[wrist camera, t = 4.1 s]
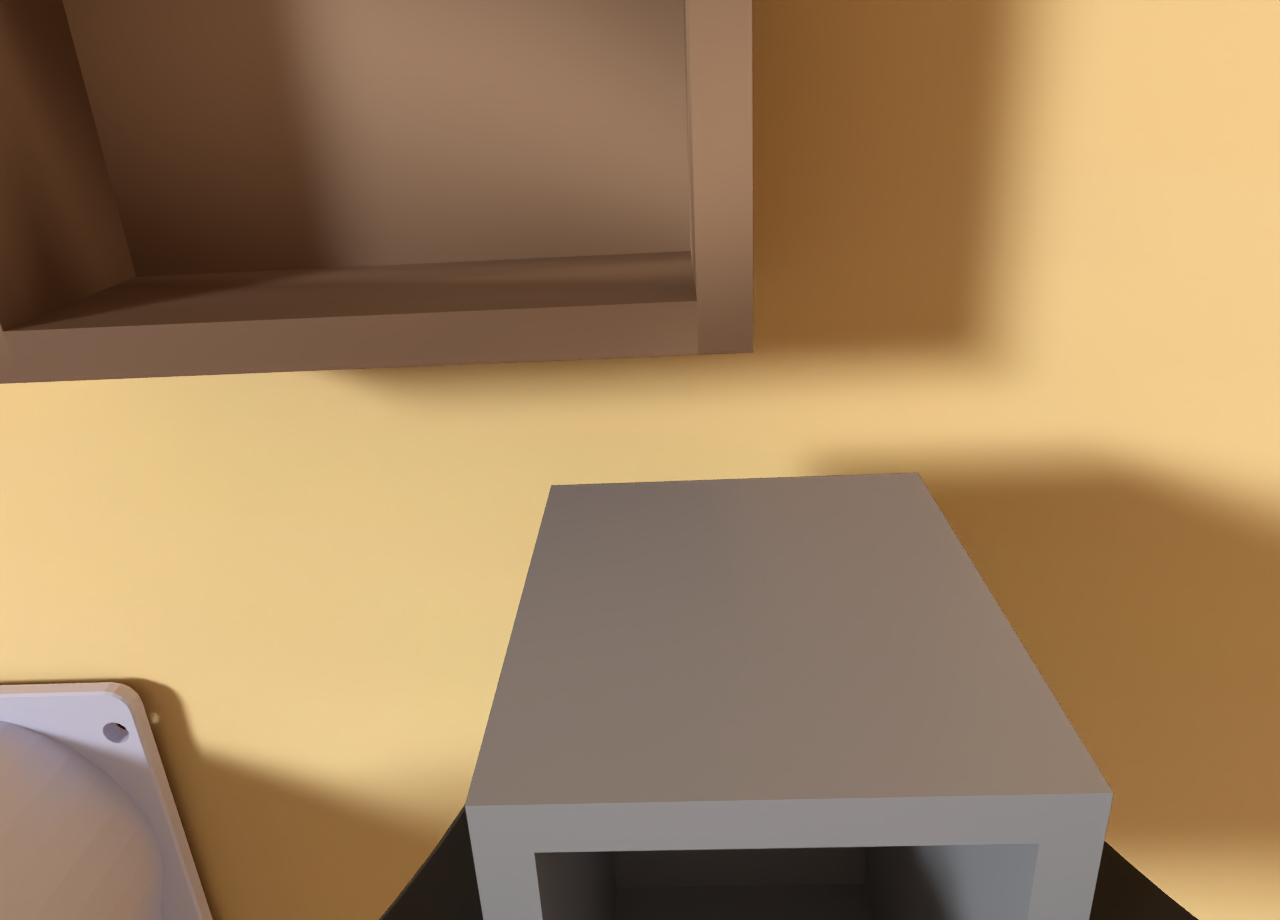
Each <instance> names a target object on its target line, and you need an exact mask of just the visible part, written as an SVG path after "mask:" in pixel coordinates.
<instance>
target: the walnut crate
mask: <svg viewBox="0 0 1280 920" xmlns="http://www.w3.org/2000/svg"><path fill="white" fill-rule="evenodd" d="M751 352H753V122H752V0H0V384H3V383H27V382H51V381H75V380H99V379H123V378H148V377H172V376H196V375H220V374H244V373H268V372H292V371H317V370H341V369H365V368H389V367H413V366H437V365H461V364H485V363H510V362H534V361H558V360H582V359H606V358H630V357H654V356H679V355H703V354H727V353H751Z"/></svg>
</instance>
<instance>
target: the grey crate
mask: <svg viewBox="0 0 1280 920" xmlns="http://www.w3.org/2000/svg"><path fill="white" fill-rule="evenodd" d="M1112 798H1113V791H1112V790H1111V788H1110V786H1109V785H1108V783H1107V781H1106V780H1105V778H1104V776H1103V775H1102V773H1101V772H1100V770H1099V768H1098V767H1097V765H1096V763H1095V762H1094V760H1093V758H1092V757H1091V755H1090V754H1089V752H1088V750H1087V749H1086V747H1085V745H1084V744H1083V742H1082V740H1081V739H1080V737H1079V736H1078V734H1077V732H1076V731H1075V729H1074V727H1073V726H1072V724H1071V722H1070V721H1069V719H1068V718H1067V716H1066V714H1065V713H1064V711H1063V709H1062V708H1061V706H1060V704H1059V703H1058V701H1057V700H1056V698H1055V696H1054V695H1053V693H1052V691H1051V690H1050V688H1049V686H1048V685H1047V683H1046V682H1045V680H1044V678H1043V677H1042V675H1041V673H1040V672H1039V670H1038V668H1037V667H1036V665H1035V664H1034V662H1033V660H1032V659H1031V657H1030V655H1029V654H1028V652H1027V651H1026V649H1025V647H1024V646H1023V644H1022V642H1021V641H1020V639H1019V637H1018V636H1017V634H1016V633H1015V631H1014V629H1013V628H1012V626H1011V624H1010V623H1009V621H1008V619H1007V618H1006V616H1005V615H1004V613H1003V611H1002V610H1001V608H1000V606H999V605H998V603H997V601H996V600H995V598H994V597H993V595H992V593H991V592H990V590H989V588H988V587H987V585H986V583H985V582H984V580H983V579H982V577H981V575H980V574H979V572H978V570H977V569H976V567H975V565H974V564H973V562H972V561H971V559H970V557H969V556H968V554H967V552H966V551H965V549H964V547H963V546H962V544H961V543H960V541H959V539H958V538H957V536H956V534H955V533H954V531H953V529H952V528H951V526H950V525H949V523H948V521H947V520H946V518H945V516H944V515H943V513H942V512H941V510H940V508H939V507H938V505H937V503H936V502H935V500H934V498H933V497H932V495H931V494H930V492H929V490H928V489H927V487H926V485H925V484H924V482H923V480H922V479H921V477H920V476H919V474H918V473H891V474H862V475H834V476H806V477H777V478H749V479H720V480H692V481H664V482H635V483H607V484H578V485H551V489H550V492H549V496H548V500H547V503H546V507H545V511H544V515H543V518H542V522H541V526H540V529H539V533H538V537H537V541H536V544H535V548H534V552H533V555H532V559H531V563H530V567H529V570H528V574H527V578H526V581H525V585H524V589H523V593H522V596H521V600H520V604H519V607H518V611H517V615H516V619H515V622H514V626H513V630H512V633H511V637H510V641H509V645H508V648H507V652H506V656H505V659H504V663H503V667H502V671H501V674H500V678H499V682H498V685H497V689H496V693H495V697H494V700H493V704H492V708H491V711H490V715H489V719H488V723H487V726H486V730H485V734H484V737H483V741H482V745H481V749H480V752H479V756H478V760H477V763H476V767H475V771H474V775H473V778H472V782H471V786H470V789H469V793H468V797H467V801H466V804H465V809H466V815H467V821H468V828H469V834H470V840H471V846H472V852H473V858H474V865H475V871H476V877H477V883H478V889H479V896H480V902H481V908H482V914H483V920H1089V917H1090V912H1091V907H1092V902H1093V896H1094V891H1095V886H1096V881H1097V876H1098V871H1099V866H1100V860H1101V855H1102V850H1103V845H1104V840H1105V835H1106V829H1107V824H1108V819H1109V814H1110V809H1111V804H1112Z"/></svg>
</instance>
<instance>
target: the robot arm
mask: <svg viewBox="0 0 1280 920" xmlns="http://www.w3.org/2000/svg"><path fill="white" fill-rule="evenodd" d="M116 723H119V724H121V725H122V726H124V727H125V728H126V729H127V730H124V729H122V728H120V727H119V726H117V725H116ZM0 920H213V919H212V916H211V913H210V910H209V907H208V904H207V900H206V897H205V894H204V891H203V888H202V885H201V882H200V879H199V876H198V873H197V870H196V866H195V863H194V860H193V857H192V854H191V851H190V848H189V845H188V842H187V839H186V836H185V832H184V829H183V826H182V823H181V820H180V817H179V814H178V811H177V808H176V805H175V801H174V798H173V795H172V792H171V789H170V786H169V783H168V780H167V777H166V774H165V771H164V767H163V764H162V761H161V758H160V755H159V752H158V749H157V746H156V743H155V740H154V737H153V733H152V730H151V727H150V724H149V721H148V718H147V715H146V712H145V709H144V706H143V702H142V700H141V699H140V697H139V695H138V694H137V693H136V692H135V691H134V690H133V689H132V688H131V687H128V686H126V685H124V684H122V683H114V682H99V683H61V684H24V685H0ZM379 920H483V914H482V908H481V902H480V896H479V889H478V883H477V877H476V871H475V865H474V858H473V852H472V846H471V840H470V834H469V828H468V821H467V815H466V809H465V805H464V807H463V808H462V810H461V811H460V813H459V814H458V816H457V817H456V819H455V820H454V821H453V823H452V824H451V826H450V827H449V829H448V830H447V832H446V833H445V835H444V836H443V837H442V839H441V840H440V842H439V843H438V845H437V846H436V848H435V849H434V850H433V852H432V853H431V854H430V856H429V857H428V858H427V860H426V861H425V862H424V864H423V865H422V866H421V868H420V869H419V870H418V871H417V873H416V874H415V875H414V877H413V878H412V879H411V880H410V882H409V883H408V884H407V886H406V887H405V888H404V890H403V891H402V892H401V893H400V895H399V896H398V897H397V899H396V900H395V901H394V902H393V904H392V905H391V906H390V907H389V908H388V910H387V911H386V912H385V913H384V914H383V916H382V917H381V918H380V919H379ZM1089 920H1198V919H1197V918H1195V917H1194V916H1193V915H1192V914H1190V913H1189V912H1188V911H1187V910H1185V909H1184V908H1183V907H1181V906H1180V905H1179V904H1178V903H1176V902H1175V901H1174V900H1173V899H1171V898H1170V897H1169V896H1168V895H1167V894H1165V893H1164V892H1163V891H1162V890H1161V889H1159V888H1158V887H1157V886H1156V885H1155V884H1153V883H1152V882H1151V881H1150V880H1149V879H1148V878H1146V877H1145V876H1144V875H1143V874H1142V873H1141V872H1139V871H1138V870H1137V869H1136V868H1135V867H1133V866H1132V865H1131V864H1130V863H1129V862H1128V861H1126V860H1125V859H1124V858H1123V857H1122V856H1121V855H1120V854H1119V853H1118V852H1116V851H1115V850H1114V849H1113V848H1112V847H1111V846H1110V845H1109V844H1108V843H1106V842H1105V841H1104V845H1103V850H1102V855H1101V860H1100V866H1099V871H1098V876H1097V881H1096V886H1095V891H1094V896H1093V902H1092V907H1091V912H1090V917H1089Z"/></svg>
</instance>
